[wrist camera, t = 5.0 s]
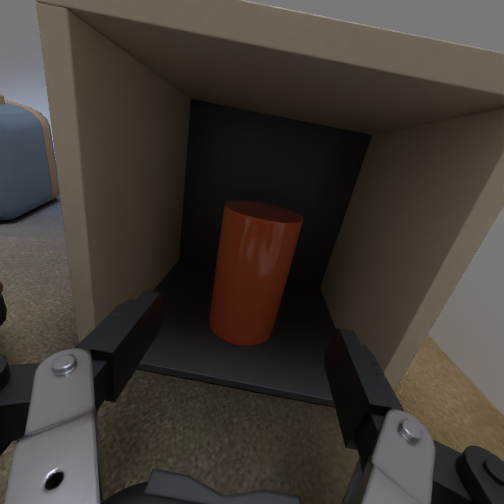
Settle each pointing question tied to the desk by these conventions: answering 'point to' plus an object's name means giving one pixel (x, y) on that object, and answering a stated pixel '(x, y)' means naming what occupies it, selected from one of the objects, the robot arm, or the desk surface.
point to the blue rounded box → (25, 160)
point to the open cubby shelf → (269, 174)
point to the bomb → (2, 307)
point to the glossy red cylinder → (252, 269)
